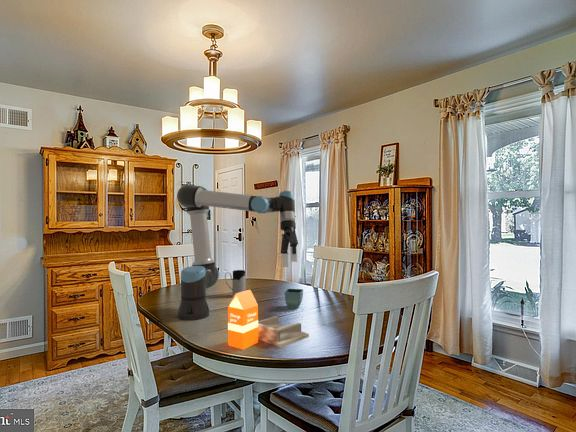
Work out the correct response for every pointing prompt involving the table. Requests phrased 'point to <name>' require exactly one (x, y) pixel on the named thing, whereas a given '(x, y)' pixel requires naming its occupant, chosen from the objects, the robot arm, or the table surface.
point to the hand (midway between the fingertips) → (289, 264)
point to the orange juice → (243, 320)
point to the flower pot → (293, 297)
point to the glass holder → (238, 281)
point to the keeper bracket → (279, 332)
